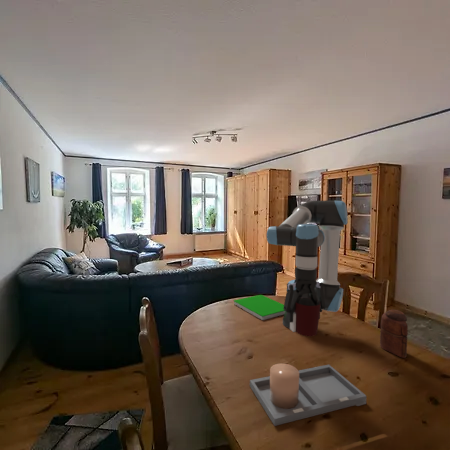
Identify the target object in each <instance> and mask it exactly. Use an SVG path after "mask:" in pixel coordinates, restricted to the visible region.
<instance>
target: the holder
mask: <svg viewBox="0 0 450 450" xmlns="http://www.w3.org/2000/svg"><path fill="white" fill-rule="evenodd" d="M298 371H299V398H298V404H297V406H296V407H294V408H291V409H283V408H279V407H277V406H275V405H274V404H273V403H272V402H271V401H270V375H269V376H264V377H260V378H254V379H249V388H251V389H250V390H252V392H253V393H254V396H255V397H256V399H257V400H258V402H259V404H260V405H261V407H262V409H263V410H264V411H265V413H266V414H267V416H268V418H269V420H270V421H271V423H272V424H273V426H274V427H276V426H279V425H284V424H287V423H291V422H295V421H298V420H299V421H300V420H302V419H303V420H304V419H306V418H307V419H308V418H310V417H314V416H315V417H316V416H318V415H323V414H327V413H330V412H333V411H337V410H341V409H346V408H349V407H353V406H357V407H360V406H363V405H366V404H367V395H366V394H365V393H364V392H363V391H362V390H361V389H359V388H358V387H356V385H354V384H353V383H352V382H350V380H348V379H347V378H346V377H345V376H343V375H342V374H341V373H340V372H339V371H338V370H336V369H335V368H334V367H333V366H331V364H326V365H325V364H324V365H319V366H314V367H310V368H304V369H299V370H298Z"/></svg>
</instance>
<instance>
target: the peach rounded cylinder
mask: <svg viewBox="0 0 450 450" xmlns="http://www.w3.org/2000/svg"><path fill="white" fill-rule="evenodd" d="M269 376H270V401H271V402H272V403H273V404H274V405H275V406H277V407H279V408H283V409H291V408H294V407H296V406H297V404H298V398H299V370H298V369H297V367H295V366H294V365H291V364H288V363H281V362H280V363H276V364H273V365H272V366H271V367H270V368H269Z"/></svg>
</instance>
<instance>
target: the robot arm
mask: <svg viewBox="0 0 450 450" xmlns="http://www.w3.org/2000/svg"><path fill="white" fill-rule="evenodd" d="M347 208H348V207H347V204H346V202H345V201H343V200H311V201H306V202H304V203H302V204H300V205H298V206H296V207H295V208H294V209H293V211H292V214H291V215H290V216H289V217H287V218H286V219H285V220H284V221H283V222H282V223H281V224H280V225H278V226H277V225H274V226H269V227H268V228H267V231H266V241H267V243H268V244H269V245H275V246H285V247H286V246H287V247H295V265H294V266H296V267H295V268H294V278H295V279H292V280H289V281H288V282H287V283H286V294H285V298H284V303H283V305H284V307H283V310H285V314H284V315H283V317H282V325H283V326H284V327H285V328H287V329H289V330H290V331H292V333H296V314H295V313H294V312H295V309H296V303H298V302H299V300H300V298H311V300H312V301H313V303H314V304H315V305H316V306H317V300H318V301H319V302H320V314H319V320H320V318H321V313H322V312H323V311H327V312H331V313H333V312H334V313H336V312H338V311H339V310H340V307H341V305H342V301H343V296H344V288H343V287H341V283H340V282H339V281H338V271H339V267H338V266H339V255H340V254H339V253H340V240H341V237H340V236H341V232H342V231H343V230H344V227H345V225H347V224H348V219H349V218H348V217H349V216H348V209H347ZM317 224H318V225H317ZM319 247H320V251H319V250H318V249H319ZM318 251H319V252H320V254H319V264H318ZM318 267H319V268H318ZM317 268H318V269H317ZM317 274H318V275H317ZM317 276H318V277H317Z"/></svg>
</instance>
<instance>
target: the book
mask: <svg viewBox="0 0 450 450" xmlns="http://www.w3.org/2000/svg"><path fill="white" fill-rule="evenodd" d="M234 304H235V305H234ZM233 305H234V306H236V305H237V306H236V307H237V308H240V309H241V308H242V309H241V310H243V311H245V312H247V313H249V314H250V315H252V316H254V317H256V318H257V319H259V320H261V321H265V320H269V319H272V318H276V317H278V316H279V317H280V316H284V314H285V310H283V307H284V303H281V302H279V301H276V300H274V299H271V298H270V297H267V296H265V295H263V294H257V295H253V296H249V297H243V298H239V299H234V300H233Z"/></svg>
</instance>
